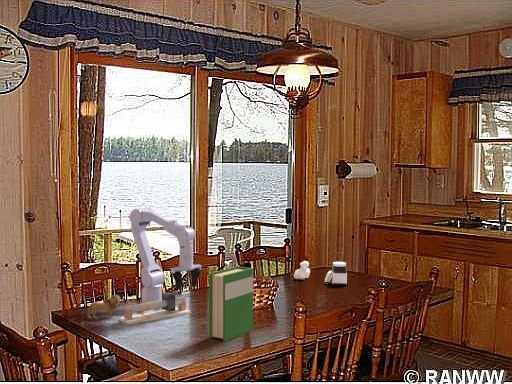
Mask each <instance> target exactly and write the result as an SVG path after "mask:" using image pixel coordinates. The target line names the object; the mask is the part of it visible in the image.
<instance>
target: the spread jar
mask: <svg viewBox="0 0 512 384" xmlns="http://www.w3.org/2000/svg"><path fill="white" fill-rule="evenodd" d="M347 277H348V270H347V262H344V261H333V262H332V269H331V270H329V271H328V272H327V273H326V275H325V278H324V283H325V282H329V283H330V281H331V284H335V285H345V284H346V285H347V281H348V278H347ZM346 285H345V286H346Z"/></svg>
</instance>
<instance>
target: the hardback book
mask: <svg viewBox="0 0 512 384" xmlns="http://www.w3.org/2000/svg"><path fill="white" fill-rule="evenodd" d="M253 316H254V268H252V267H245V266H233V267H230V268H229V267H228V268H225V269H222V270H216V271H212V272H209V273H208V339H211V340H212V339H213V338H218V339H222V341H223V342H228V341H230V340H233V339H235V338H238V337H240V336H243V335H245V334H247V333H250V332H252V331H253V330H254V325H253V323H254V321H253V320H254V317H253Z"/></svg>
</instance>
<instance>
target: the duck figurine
mask: <svg viewBox="0 0 512 384" xmlns="http://www.w3.org/2000/svg"><path fill="white" fill-rule="evenodd" d="M299 266H300V268H299V269H296V270H295V272H293V273H294V274H293V278H294V279H295V280H306V279H305V278H307V279H308V278H309V277H310V274H311V269H310V268H308V267H310V263H309V261H306V260H303V261H302V262H299Z"/></svg>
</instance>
